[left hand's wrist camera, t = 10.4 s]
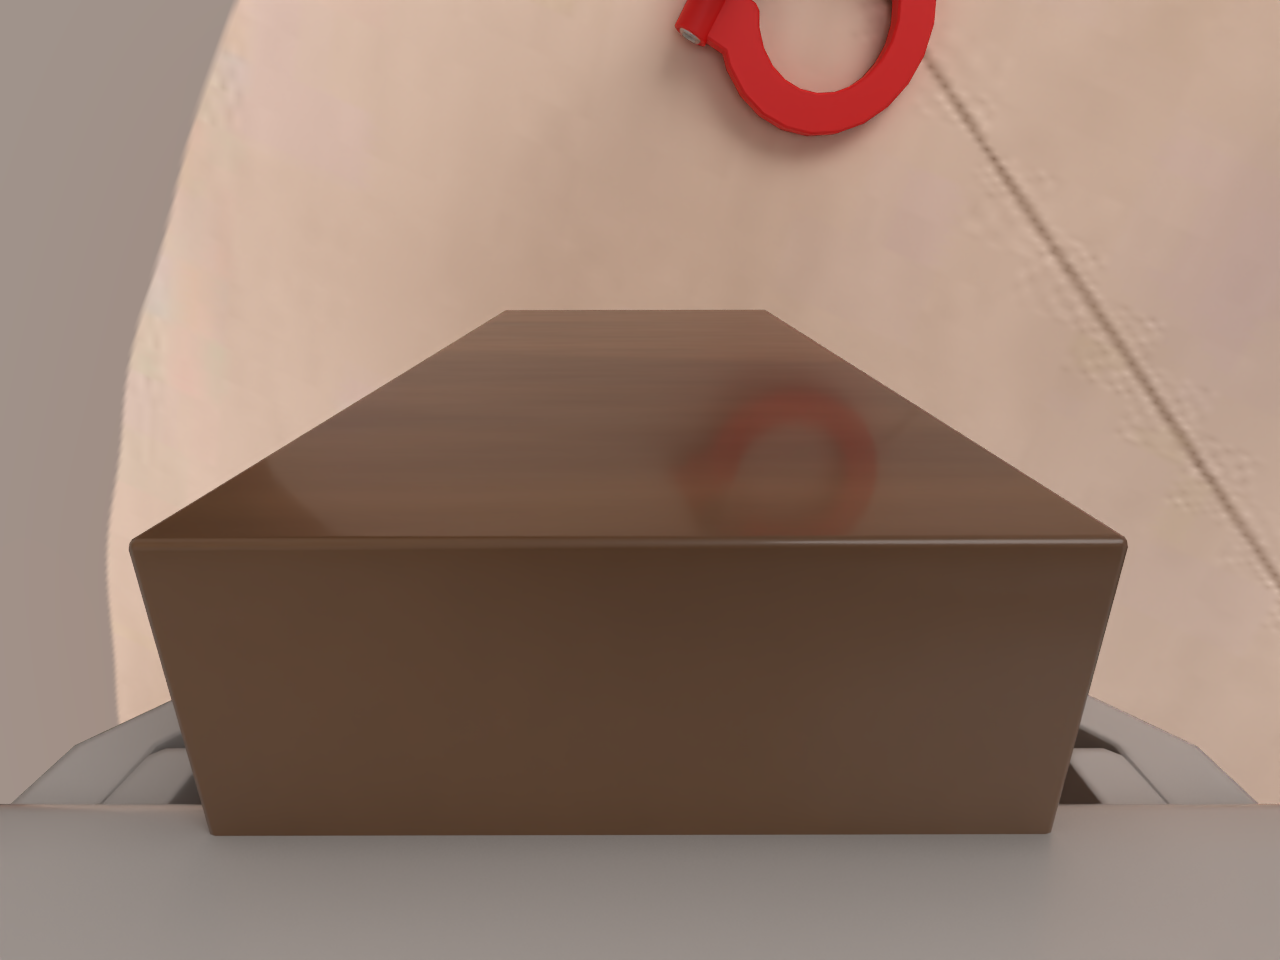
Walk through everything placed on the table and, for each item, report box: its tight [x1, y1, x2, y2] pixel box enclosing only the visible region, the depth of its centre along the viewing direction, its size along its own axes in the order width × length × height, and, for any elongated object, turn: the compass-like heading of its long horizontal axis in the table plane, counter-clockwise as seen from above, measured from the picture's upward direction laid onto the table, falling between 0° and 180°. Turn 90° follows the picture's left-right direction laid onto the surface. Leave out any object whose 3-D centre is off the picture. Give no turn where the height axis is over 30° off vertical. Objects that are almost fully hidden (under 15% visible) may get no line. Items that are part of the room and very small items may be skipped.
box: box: [129, 310, 1128, 836], centre depth 13 cm, size 22×6×12 cm, turn 0°
